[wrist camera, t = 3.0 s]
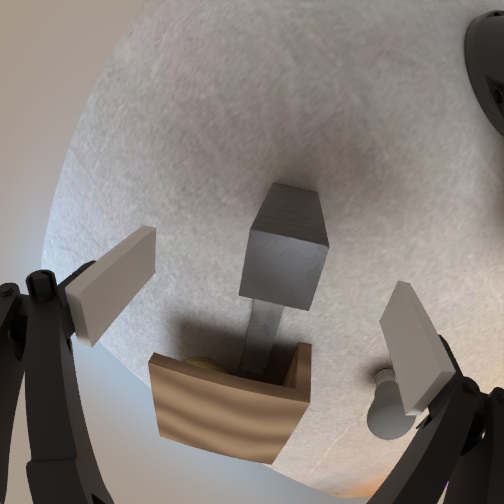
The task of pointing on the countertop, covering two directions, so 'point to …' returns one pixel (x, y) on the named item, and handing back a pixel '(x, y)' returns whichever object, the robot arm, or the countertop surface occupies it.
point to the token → (206, 364)
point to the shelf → (229, 407)
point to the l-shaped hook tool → (281, 265)
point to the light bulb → (388, 409)
